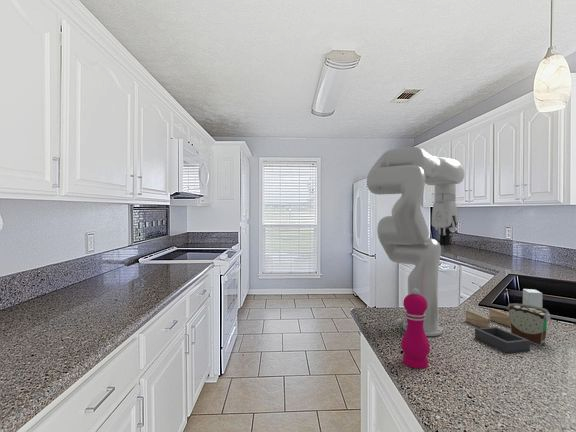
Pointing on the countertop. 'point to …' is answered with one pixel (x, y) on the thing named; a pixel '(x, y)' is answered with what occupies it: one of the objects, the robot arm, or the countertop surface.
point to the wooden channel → (485, 321)
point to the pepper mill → (415, 332)
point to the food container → (529, 322)
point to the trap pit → (502, 339)
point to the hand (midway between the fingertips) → (444, 245)
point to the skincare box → (532, 297)
